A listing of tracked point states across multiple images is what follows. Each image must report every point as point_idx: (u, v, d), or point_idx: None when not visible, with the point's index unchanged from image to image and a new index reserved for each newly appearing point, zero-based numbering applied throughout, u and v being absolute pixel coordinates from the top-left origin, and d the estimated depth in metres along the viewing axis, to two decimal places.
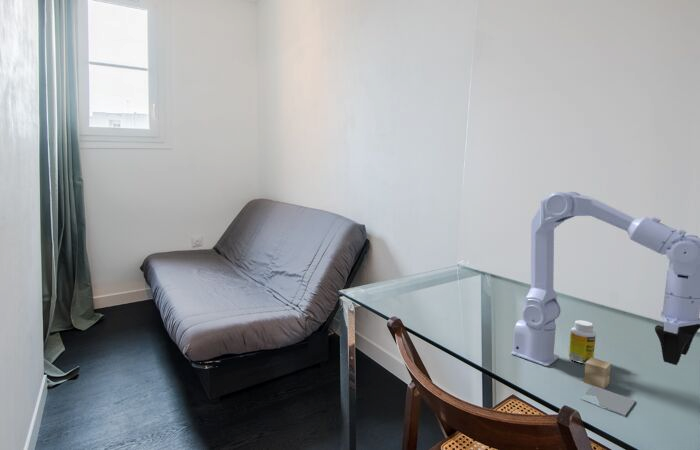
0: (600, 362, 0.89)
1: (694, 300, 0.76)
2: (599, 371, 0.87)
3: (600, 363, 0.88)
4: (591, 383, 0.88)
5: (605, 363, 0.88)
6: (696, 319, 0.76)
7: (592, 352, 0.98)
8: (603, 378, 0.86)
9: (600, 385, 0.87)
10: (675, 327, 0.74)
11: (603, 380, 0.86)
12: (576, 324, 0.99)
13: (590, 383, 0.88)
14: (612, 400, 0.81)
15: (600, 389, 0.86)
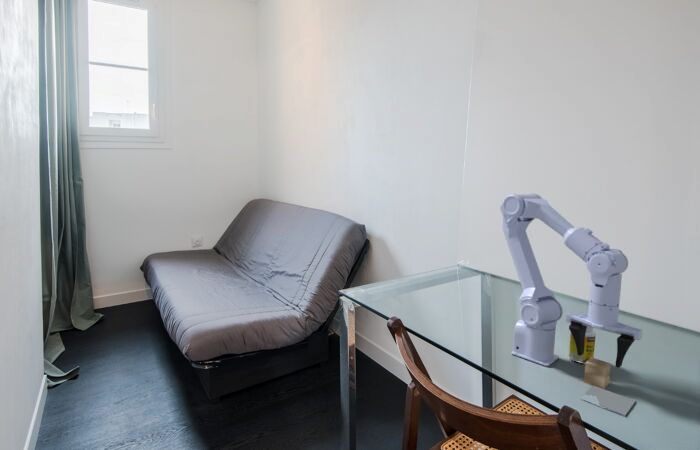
0: (600, 361, 0.89)
1: (591, 304, 0.87)
2: (599, 371, 0.87)
3: (600, 363, 0.88)
4: (591, 383, 0.88)
5: (605, 363, 0.88)
6: (593, 322, 0.86)
7: (592, 352, 0.98)
8: (603, 378, 0.86)
9: (600, 385, 0.87)
10: (566, 316, 0.92)
11: (603, 380, 0.86)
12: None
13: (590, 383, 0.88)
14: (612, 400, 0.81)
15: (600, 389, 0.86)
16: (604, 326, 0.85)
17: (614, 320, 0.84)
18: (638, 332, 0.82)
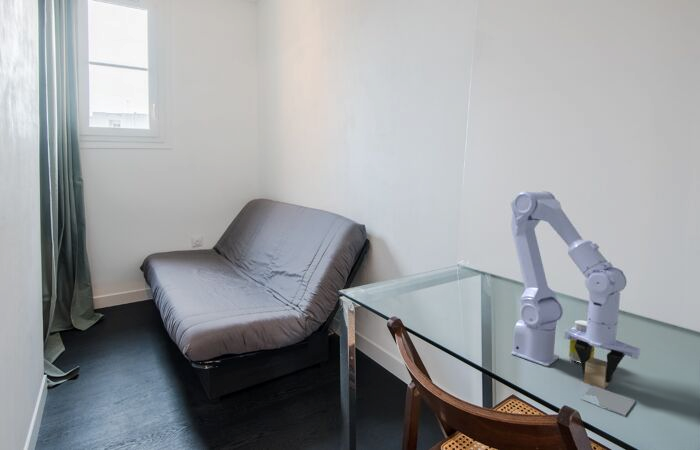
0: (600, 361, 0.89)
1: (589, 321, 0.87)
2: (599, 371, 0.87)
3: (600, 363, 0.88)
4: (591, 383, 0.88)
5: (605, 363, 0.88)
6: (591, 340, 0.87)
7: (592, 352, 0.98)
8: (603, 378, 0.86)
9: (600, 385, 0.87)
10: (565, 333, 0.93)
11: (603, 380, 0.86)
12: (576, 324, 0.99)
13: (590, 383, 0.88)
14: (612, 400, 0.81)
15: (600, 389, 0.86)
16: (602, 344, 0.85)
17: (612, 338, 0.85)
18: (636, 351, 0.82)
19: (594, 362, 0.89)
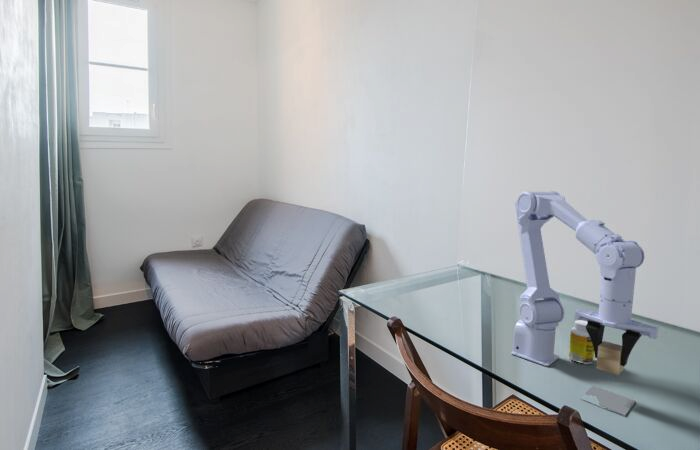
0: (614, 345, 0.82)
1: (602, 299, 0.80)
2: (613, 355, 0.80)
3: (614, 346, 0.81)
4: (604, 368, 0.81)
5: (619, 346, 0.81)
6: (604, 319, 0.80)
7: (592, 352, 0.98)
8: (618, 362, 0.79)
9: (614, 370, 0.80)
10: (575, 313, 0.86)
11: (618, 364, 0.79)
12: (576, 324, 0.99)
13: (603, 368, 0.81)
14: (612, 400, 0.81)
15: (600, 389, 0.86)
16: (617, 324, 0.78)
17: (627, 317, 0.78)
18: (654, 330, 0.75)
19: (607, 346, 0.82)
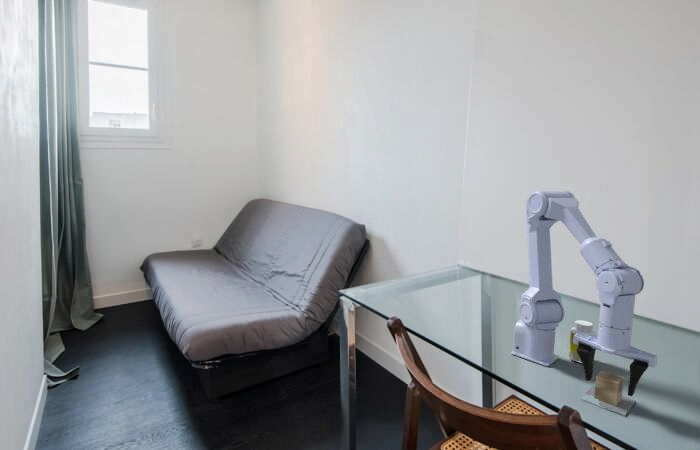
0: (612, 375, 0.82)
1: (601, 326, 0.80)
2: (611, 386, 0.80)
3: (612, 377, 0.81)
4: (602, 399, 0.81)
5: (618, 377, 0.81)
6: (603, 345, 0.79)
7: None
8: (616, 394, 0.79)
9: (612, 401, 0.79)
10: None
11: (616, 396, 0.79)
12: (576, 324, 0.99)
13: (601, 399, 0.81)
14: None
15: None
16: (615, 351, 0.78)
17: (626, 344, 0.78)
18: (653, 359, 0.75)
19: (605, 376, 0.81)
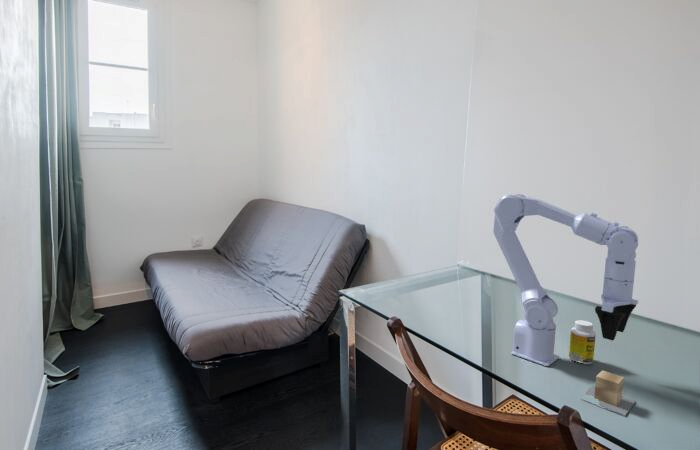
0: (612, 375, 0.82)
1: (627, 283, 0.87)
2: (611, 386, 0.80)
3: (612, 377, 0.81)
4: (602, 399, 0.81)
5: (618, 377, 0.81)
6: (629, 300, 0.87)
7: (592, 352, 0.98)
8: (616, 394, 0.79)
9: (612, 401, 0.79)
10: (610, 306, 0.85)
11: (616, 396, 0.79)
12: (576, 324, 0.99)
13: (601, 399, 0.81)
14: None
15: None
16: None
17: None
18: None
19: (605, 376, 0.81)
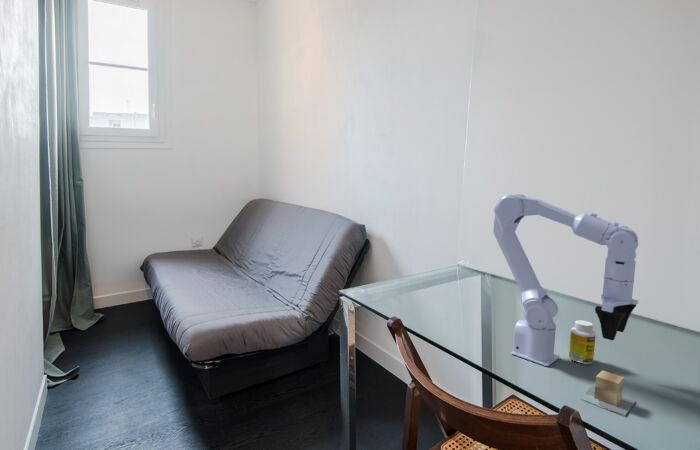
0: (612, 375, 0.82)
1: (627, 283, 0.87)
2: (611, 386, 0.80)
3: (612, 377, 0.81)
4: (602, 399, 0.81)
5: (618, 377, 0.81)
6: (629, 300, 0.87)
7: (592, 352, 0.98)
8: (616, 394, 0.79)
9: (612, 401, 0.79)
10: (610, 306, 0.85)
11: (616, 396, 0.79)
12: (576, 324, 0.99)
13: (601, 399, 0.81)
14: None
15: None
16: None
17: None
18: None
19: (605, 376, 0.81)
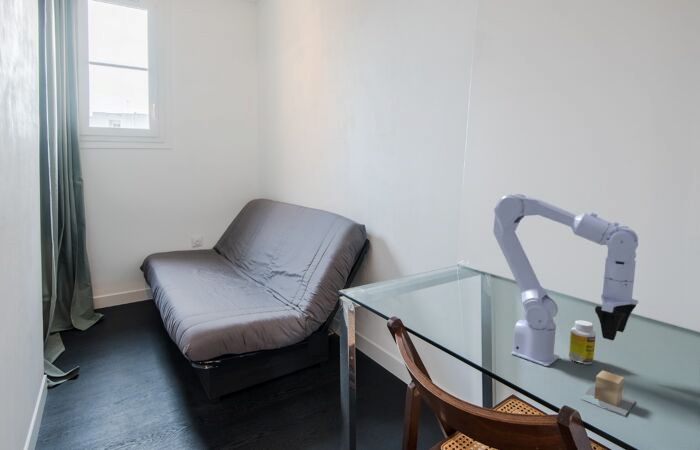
0: (612, 375, 0.82)
1: (627, 283, 0.87)
2: (611, 386, 0.80)
3: (612, 377, 0.81)
4: (602, 399, 0.81)
5: (618, 377, 0.81)
6: (629, 300, 0.87)
7: (592, 352, 0.98)
8: (616, 394, 0.79)
9: (612, 401, 0.79)
10: (610, 306, 0.85)
11: (616, 396, 0.79)
12: (576, 324, 0.99)
13: (601, 399, 0.81)
14: None
15: None
16: None
17: None
18: None
19: (605, 376, 0.81)
